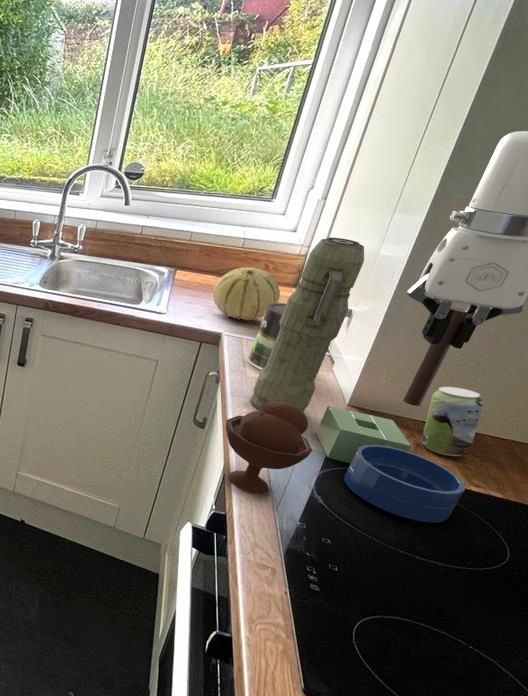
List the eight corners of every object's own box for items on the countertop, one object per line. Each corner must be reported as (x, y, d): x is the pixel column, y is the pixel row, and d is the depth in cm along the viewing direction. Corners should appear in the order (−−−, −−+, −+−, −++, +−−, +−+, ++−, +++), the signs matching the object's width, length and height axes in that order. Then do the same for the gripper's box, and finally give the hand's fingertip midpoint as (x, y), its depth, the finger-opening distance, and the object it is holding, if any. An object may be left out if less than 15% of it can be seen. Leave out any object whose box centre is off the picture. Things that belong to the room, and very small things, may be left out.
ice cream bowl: (216, 454, 102) (244, 379, 96) (295, 485, 95) (330, 406, 89) (200, 480, 95) (229, 401, 89) (284, 516, 88) (321, 432, 82)
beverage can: (464, 465, 101) (498, 406, 97) (407, 446, 107) (436, 389, 102) (466, 452, 105) (499, 395, 101) (411, 434, 110) (439, 378, 106)
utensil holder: (379, 448, 106) (393, 420, 103) (396, 475, 98) (411, 445, 96) (315, 432, 110) (327, 405, 107) (327, 457, 102) (340, 429, 100)
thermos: (295, 400, 121) (363, 237, 108) (310, 428, 111) (386, 252, 98) (244, 389, 125) (304, 230, 111) (254, 415, 115) (321, 244, 101)
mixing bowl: (429, 490, 95) (445, 459, 93) (460, 537, 85) (480, 504, 83) (334, 465, 100) (348, 436, 98) (353, 507, 90) (369, 475, 88)
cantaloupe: (266, 316, 166) (285, 266, 161) (271, 332, 155) (292, 279, 149) (206, 304, 173) (221, 256, 168) (206, 319, 162) (223, 268, 156)
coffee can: (242, 365, 135) (263, 309, 130) (252, 353, 142) (271, 299, 137) (297, 382, 129) (321, 324, 123) (304, 368, 136) (327, 312, 130)
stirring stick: (417, 401, 92) (464, 308, 86) (422, 407, 91) (470, 313, 85) (400, 398, 93) (446, 306, 87) (405, 403, 92) (452, 310, 86)
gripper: (435, 221, 81) (381, 340, 88) (601, 238, 75) (528, 365, 82) (415, 212, 88) (366, 323, 95) (566, 227, 81) (501, 346, 88)
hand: (441, 342), depth 88 cm, fingers closed on stirring stick, 2 cm apart
